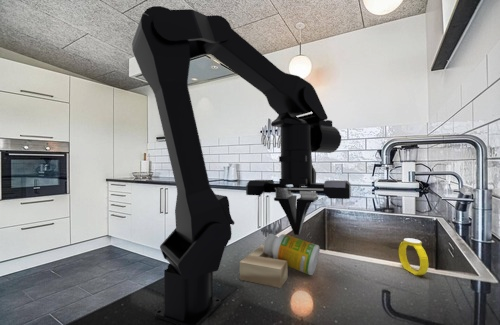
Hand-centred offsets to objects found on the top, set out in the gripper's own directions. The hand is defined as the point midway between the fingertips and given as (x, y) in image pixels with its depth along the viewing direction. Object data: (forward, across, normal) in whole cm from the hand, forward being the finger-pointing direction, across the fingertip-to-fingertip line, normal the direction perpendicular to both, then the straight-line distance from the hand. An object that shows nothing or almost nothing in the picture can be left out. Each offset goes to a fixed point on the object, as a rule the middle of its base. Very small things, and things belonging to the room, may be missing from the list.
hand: (297, 234), depth 45 cm
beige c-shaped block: (+7, +5, 0) cm, 8 cm away
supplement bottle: (+4, -4, 0) cm, 6 cm away
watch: (+7, -20, -9) cm, 23 cm away
